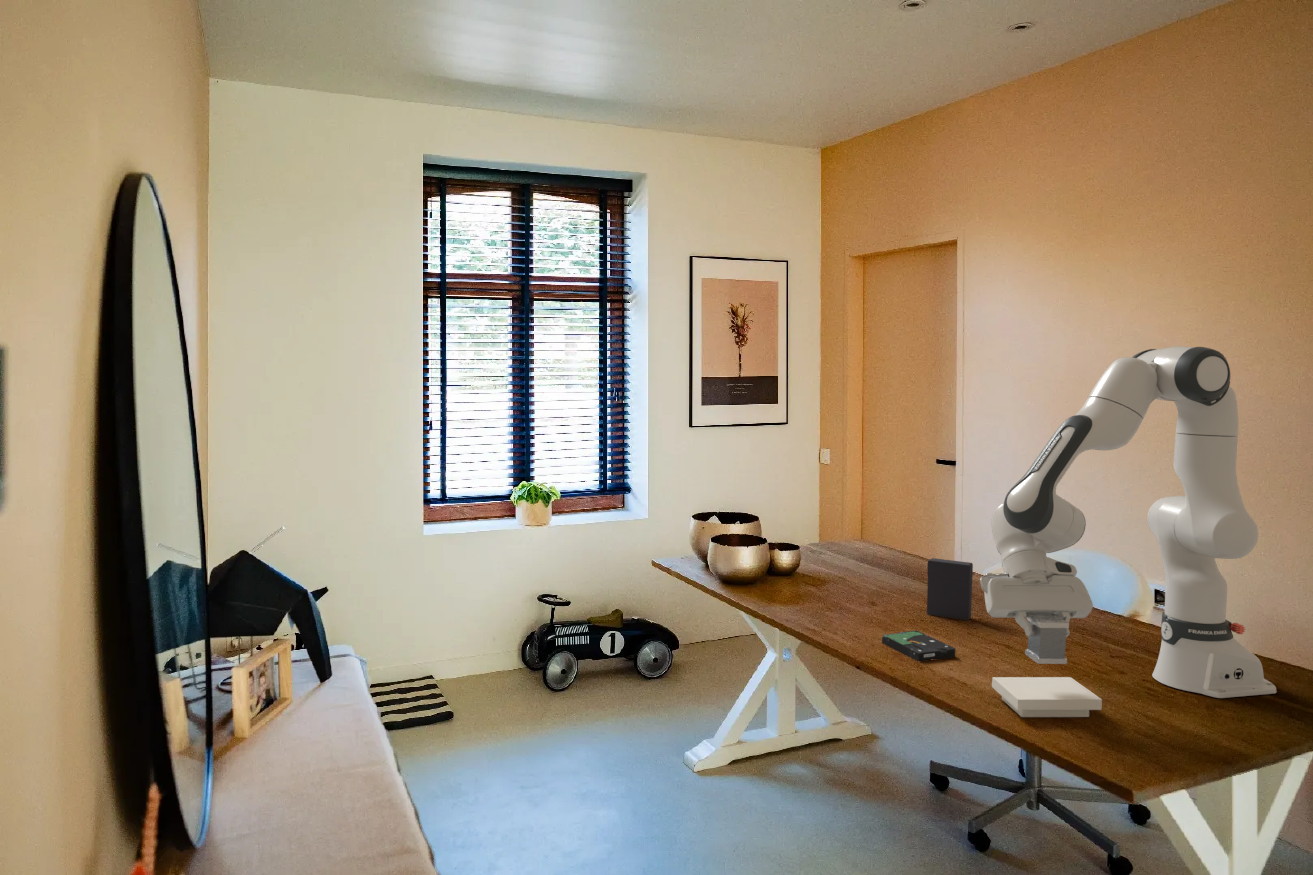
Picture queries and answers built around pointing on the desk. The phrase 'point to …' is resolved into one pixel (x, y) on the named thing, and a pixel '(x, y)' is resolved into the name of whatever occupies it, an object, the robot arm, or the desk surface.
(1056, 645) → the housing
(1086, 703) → the stand
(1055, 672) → the desk surface
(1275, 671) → the desk surface
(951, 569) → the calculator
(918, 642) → the disk drive
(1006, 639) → the desk surface
